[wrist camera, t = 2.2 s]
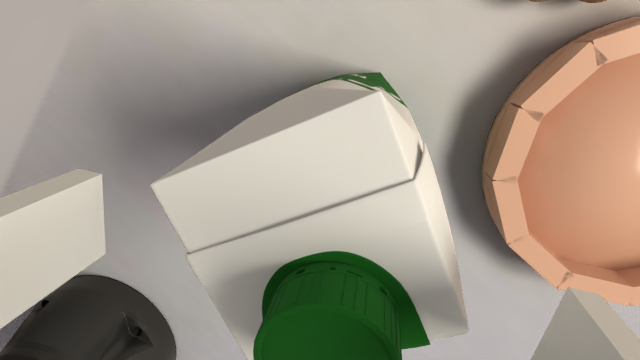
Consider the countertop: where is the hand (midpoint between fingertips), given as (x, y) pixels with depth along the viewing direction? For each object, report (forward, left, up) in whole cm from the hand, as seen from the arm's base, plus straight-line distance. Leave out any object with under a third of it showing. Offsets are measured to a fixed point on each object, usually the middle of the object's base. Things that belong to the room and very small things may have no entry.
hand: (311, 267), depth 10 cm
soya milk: (0, 0, -19) cm, 19 cm away
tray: (+19, +2, -19) cm, 26 cm away
